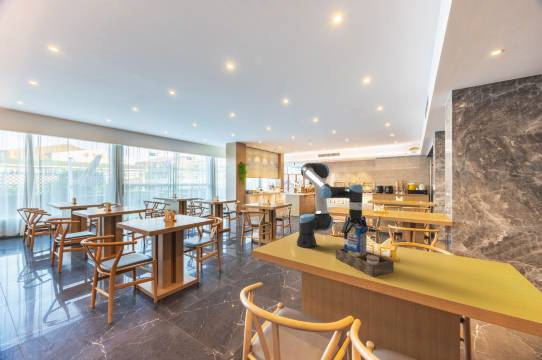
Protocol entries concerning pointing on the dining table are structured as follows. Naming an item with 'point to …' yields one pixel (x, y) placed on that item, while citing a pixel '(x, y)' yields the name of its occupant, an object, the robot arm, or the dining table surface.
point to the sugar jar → (372, 259)
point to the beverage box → (356, 241)
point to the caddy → (366, 263)
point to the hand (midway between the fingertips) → (355, 243)
